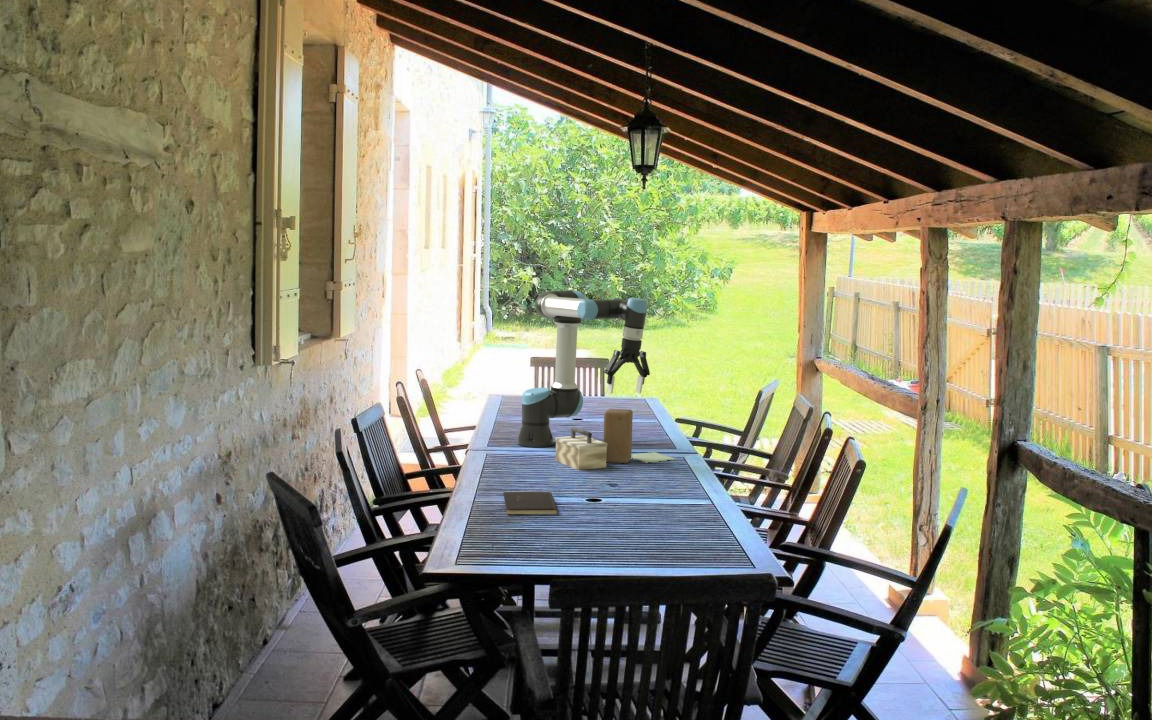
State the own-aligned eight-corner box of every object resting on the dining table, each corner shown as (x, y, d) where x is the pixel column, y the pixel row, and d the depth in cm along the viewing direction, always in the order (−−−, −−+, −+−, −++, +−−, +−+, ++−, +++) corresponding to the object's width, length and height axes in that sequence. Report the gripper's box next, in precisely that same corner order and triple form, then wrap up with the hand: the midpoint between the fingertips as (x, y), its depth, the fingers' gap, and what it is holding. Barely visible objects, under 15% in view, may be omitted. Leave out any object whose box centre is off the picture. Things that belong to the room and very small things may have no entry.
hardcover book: (506, 516, 310) (506, 509, 309) (503, 498, 332) (503, 491, 332) (557, 516, 311) (557, 509, 311) (551, 498, 334) (551, 491, 334)
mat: (626, 456, 403) (626, 455, 403) (654, 453, 410) (654, 452, 410) (645, 463, 391) (645, 461, 391) (675, 460, 398) (675, 458, 398)
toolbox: (554, 460, 391) (555, 426, 390) (583, 458, 398) (584, 424, 396) (578, 470, 376) (579, 434, 374) (608, 467, 382) (609, 432, 381)
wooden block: (627, 464, 388) (629, 413, 386) (602, 462, 390) (603, 411, 388) (631, 459, 398) (633, 409, 395) (606, 457, 400) (608, 408, 397)
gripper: (611, 339, 375) (603, 394, 378) (663, 341, 388) (655, 395, 392) (600, 335, 381) (592, 389, 384) (652, 337, 395) (644, 390, 398)
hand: (624, 392), depth 388 cm, fingers open, 13 cm apart
